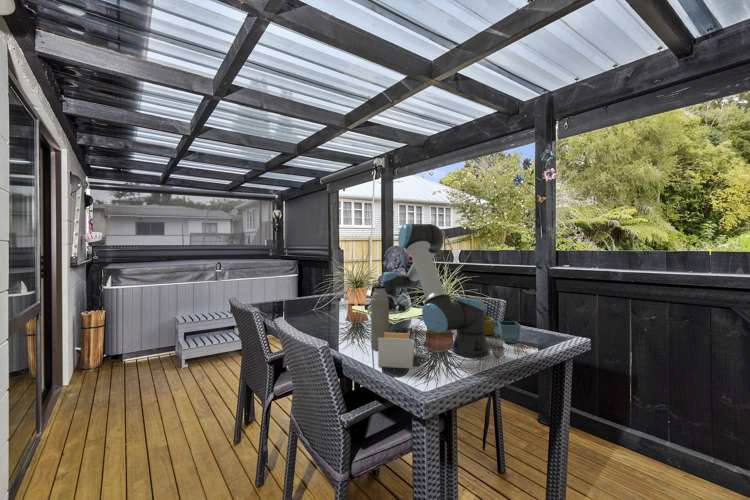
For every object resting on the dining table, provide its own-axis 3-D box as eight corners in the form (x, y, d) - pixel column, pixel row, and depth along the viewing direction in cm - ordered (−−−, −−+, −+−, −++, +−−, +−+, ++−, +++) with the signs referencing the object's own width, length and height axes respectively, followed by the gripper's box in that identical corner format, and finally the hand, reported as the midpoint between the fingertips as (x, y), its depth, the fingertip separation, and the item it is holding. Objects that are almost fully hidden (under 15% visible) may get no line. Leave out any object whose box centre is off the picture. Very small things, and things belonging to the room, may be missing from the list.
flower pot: (497, 339, 172) (497, 320, 172) (516, 339, 171) (516, 321, 171) (501, 344, 163) (501, 325, 163) (520, 344, 162) (521, 325, 162)
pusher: (384, 357, 142) (384, 332, 142) (409, 358, 141) (409, 333, 140) (383, 360, 139) (383, 334, 138) (409, 361, 137) (408, 335, 137)
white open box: (383, 352, 152) (383, 327, 151) (414, 354, 150) (414, 328, 150) (378, 366, 135) (378, 338, 135) (412, 368, 133) (412, 339, 133)
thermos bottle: (385, 344, 164) (385, 284, 163) (391, 349, 156) (391, 286, 155) (369, 346, 161) (368, 285, 161) (374, 351, 154) (373, 287, 153)
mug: (493, 327, 187) (490, 311, 184) (498, 338, 177) (495, 321, 174) (470, 331, 189) (467, 315, 186) (473, 342, 179) (470, 325, 176)
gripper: (411, 310, 187) (408, 319, 166) (364, 309, 191) (356, 317, 170) (411, 296, 187) (408, 303, 166) (364, 295, 190) (356, 302, 170)
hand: (382, 310), depth 168 cm, fingers open, 13 cm apart
